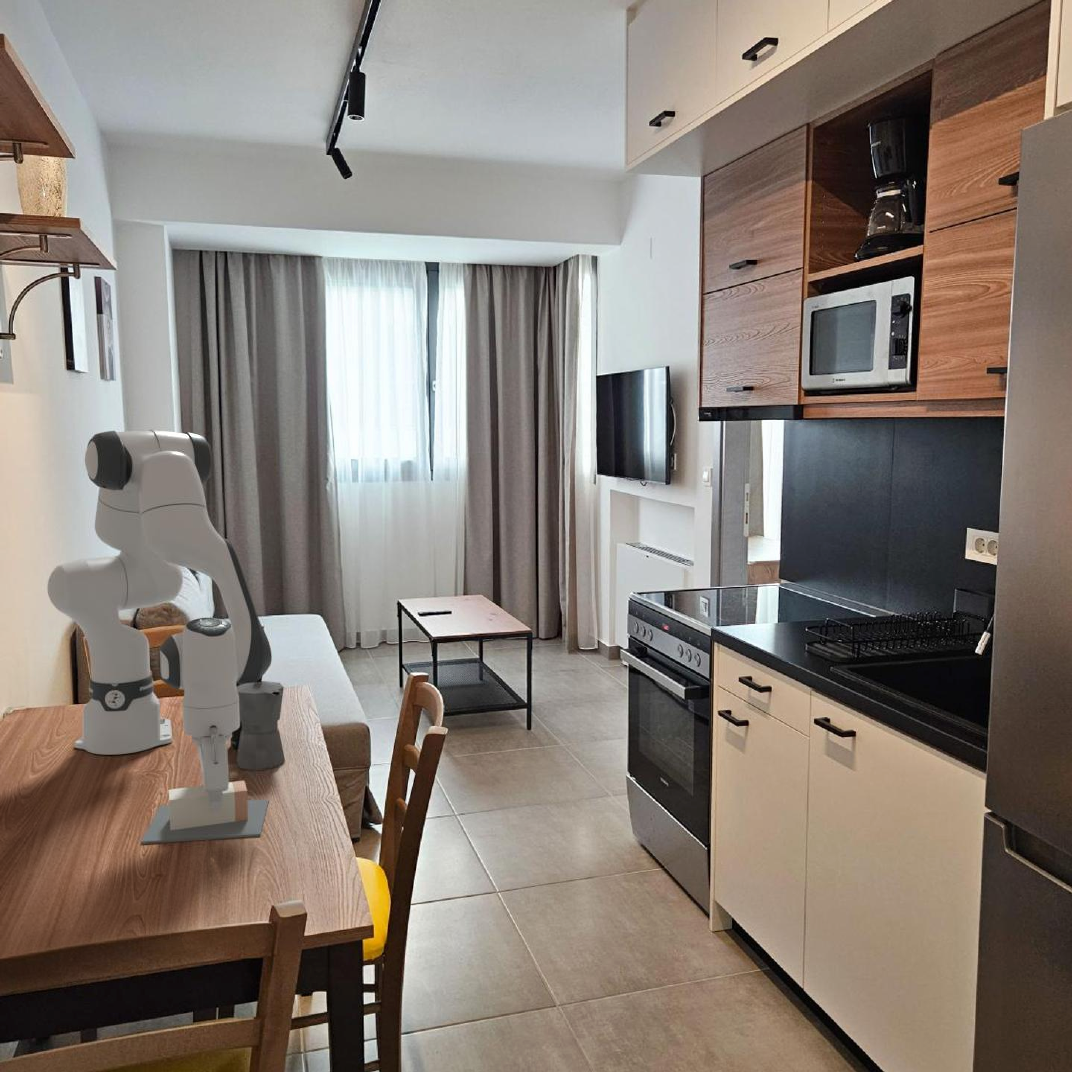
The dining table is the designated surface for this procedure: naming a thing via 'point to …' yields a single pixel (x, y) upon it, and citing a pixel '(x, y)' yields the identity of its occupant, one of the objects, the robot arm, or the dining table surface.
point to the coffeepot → (260, 725)
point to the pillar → (206, 806)
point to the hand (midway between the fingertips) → (213, 800)
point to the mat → (207, 826)
